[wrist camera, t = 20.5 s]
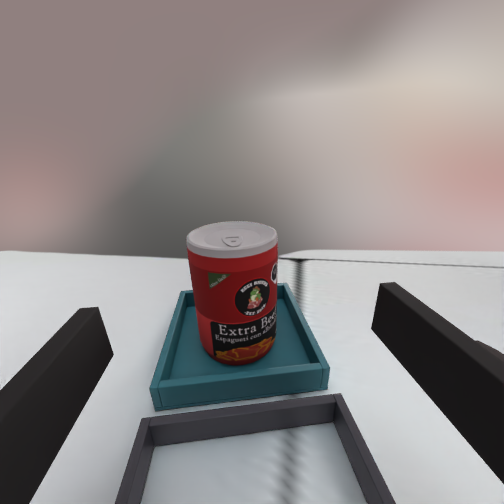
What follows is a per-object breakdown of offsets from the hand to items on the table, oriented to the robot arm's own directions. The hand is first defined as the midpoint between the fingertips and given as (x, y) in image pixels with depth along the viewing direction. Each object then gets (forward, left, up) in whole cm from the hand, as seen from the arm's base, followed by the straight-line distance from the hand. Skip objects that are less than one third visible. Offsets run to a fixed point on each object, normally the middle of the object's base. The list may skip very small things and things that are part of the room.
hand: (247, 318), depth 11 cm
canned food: (0, -10, -10) cm, 14 cm away
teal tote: (0, -10, -10) cm, 14 cm away
